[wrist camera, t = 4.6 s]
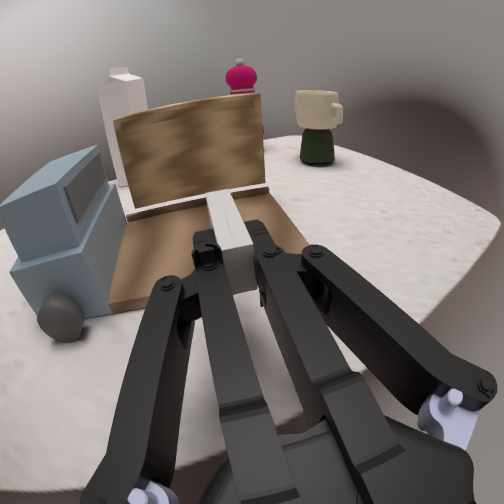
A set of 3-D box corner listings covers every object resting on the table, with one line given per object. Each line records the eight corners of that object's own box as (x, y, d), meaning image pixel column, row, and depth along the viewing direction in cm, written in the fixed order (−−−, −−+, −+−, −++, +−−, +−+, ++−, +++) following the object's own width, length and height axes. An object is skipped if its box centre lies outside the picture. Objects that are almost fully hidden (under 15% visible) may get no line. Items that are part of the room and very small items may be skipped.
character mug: (353, 166, 45) (355, 94, 37) (326, 174, 42) (327, 93, 34) (310, 152, 52) (309, 89, 45) (283, 158, 49) (279, 90, 42)
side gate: (135, 208, 31) (112, 120, 24) (136, 202, 32) (115, 118, 25) (265, 183, 33) (260, 93, 26) (261, 178, 34) (256, 92, 28)
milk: (160, 172, 50) (142, 62, 37) (145, 185, 45) (123, 63, 32) (134, 175, 51) (115, 70, 38) (118, 187, 46) (95, 73, 33)
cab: (37, 345, 18) (-33, 235, 11) (80, 234, 33) (54, 156, 26) (110, 336, 19) (41, 203, 12) (132, 221, 34) (109, 137, 27)
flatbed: (113, 313, 21) (104, 298, 20) (130, 227, 33) (126, 215, 32) (318, 269, 24) (320, 252, 23) (268, 199, 35) (267, 186, 34)
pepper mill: (269, 153, 53) (262, 56, 41) (233, 158, 52) (223, 58, 40) (260, 145, 58) (253, 59, 47) (227, 149, 57) (218, 61, 46)
